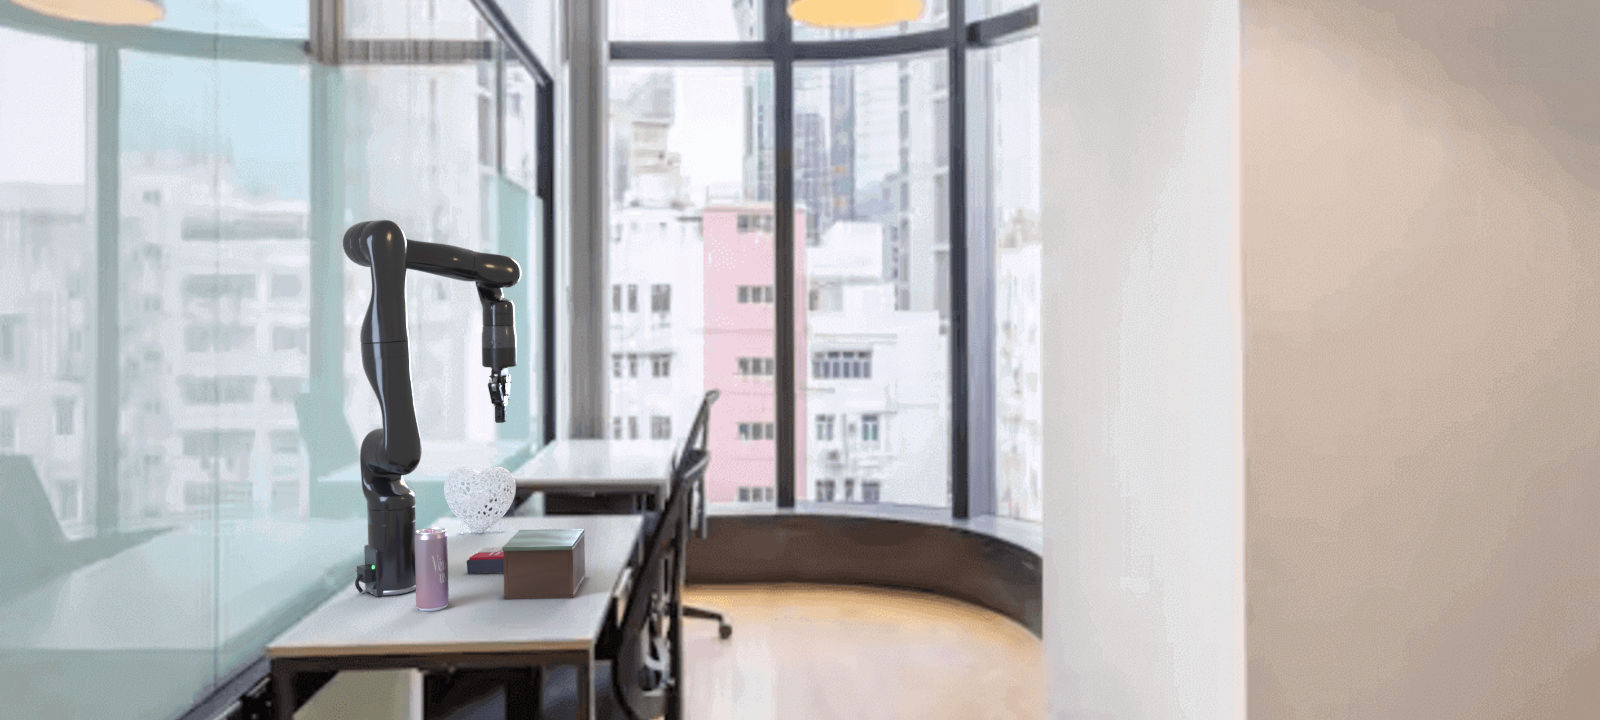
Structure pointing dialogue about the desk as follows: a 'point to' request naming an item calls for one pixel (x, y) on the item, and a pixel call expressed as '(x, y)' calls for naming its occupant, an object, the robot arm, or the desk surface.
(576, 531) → the lid
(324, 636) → the desk surface
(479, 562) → the calculator
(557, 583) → the chest
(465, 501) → the decorative heart
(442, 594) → the beverage can
